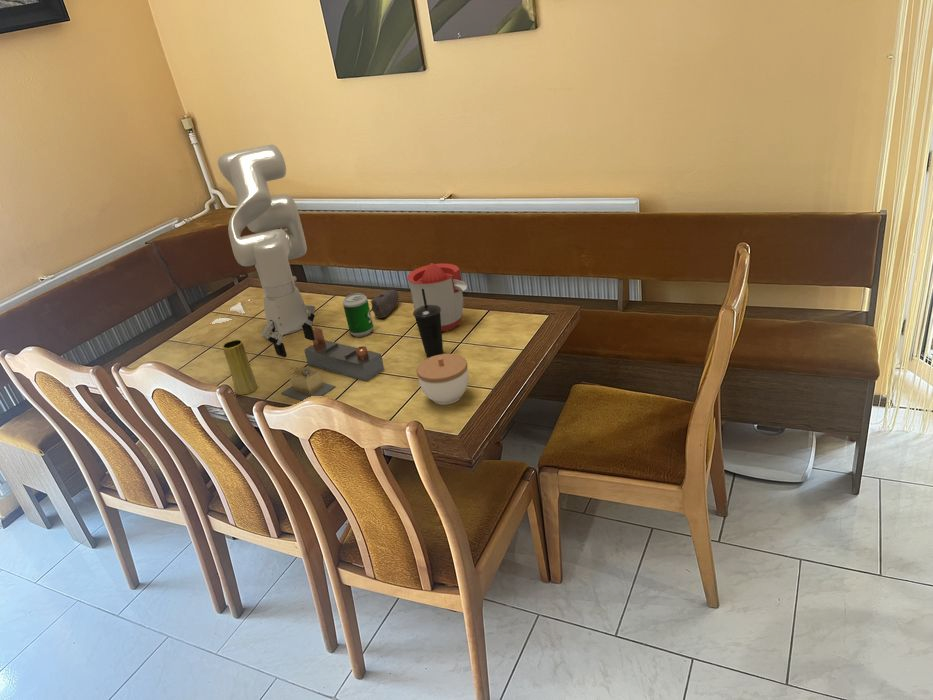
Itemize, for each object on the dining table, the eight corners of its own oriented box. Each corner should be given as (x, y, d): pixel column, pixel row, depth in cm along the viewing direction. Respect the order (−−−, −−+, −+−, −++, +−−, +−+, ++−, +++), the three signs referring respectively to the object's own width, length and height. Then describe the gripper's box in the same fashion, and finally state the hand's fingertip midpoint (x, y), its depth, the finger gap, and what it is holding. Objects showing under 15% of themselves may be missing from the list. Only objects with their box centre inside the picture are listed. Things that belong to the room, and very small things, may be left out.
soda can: (369, 337, 220) (361, 301, 214) (346, 338, 222) (338, 302, 216) (377, 326, 226) (369, 291, 221) (355, 327, 228) (346, 292, 223)
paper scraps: (217, 335, 240) (215, 329, 239) (191, 331, 247) (189, 325, 246) (273, 304, 259) (271, 298, 258) (247, 300, 266) (245, 294, 265)
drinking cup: (452, 348, 205) (440, 283, 196) (442, 361, 198) (430, 294, 190) (427, 348, 207) (415, 283, 199) (417, 360, 201) (404, 295, 192)
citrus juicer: (462, 337, 211) (452, 273, 202) (408, 335, 217) (396, 273, 208) (479, 314, 224) (470, 253, 215) (428, 313, 230) (417, 254, 221)
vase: (238, 386, 203) (223, 340, 197) (259, 382, 203) (245, 337, 197) (233, 396, 198) (218, 350, 191) (255, 393, 198) (241, 346, 191)
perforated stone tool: (392, 302, 243) (388, 282, 240) (406, 302, 241) (402, 283, 238) (369, 321, 231) (365, 301, 228) (383, 322, 229) (379, 302, 226)
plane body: (308, 365, 209) (299, 334, 204) (325, 354, 213) (317, 324, 209) (366, 381, 195) (359, 348, 190) (384, 369, 199) (377, 337, 195)
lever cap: (293, 390, 195) (288, 372, 192) (306, 382, 198) (301, 364, 195) (310, 396, 191) (305, 377, 188) (323, 387, 194) (318, 368, 192)
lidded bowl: (414, 408, 178) (406, 369, 173) (434, 383, 188) (427, 345, 183) (461, 412, 173) (454, 372, 168) (479, 386, 184) (473, 347, 179)
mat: (281, 394, 195) (281, 392, 195) (306, 378, 201) (305, 377, 201) (310, 403, 188) (310, 402, 188) (335, 387, 194) (335, 386, 194)
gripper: (296, 273, 189) (311, 330, 197) (243, 299, 178) (261, 359, 186) (315, 276, 185) (330, 335, 193) (262, 304, 173) (280, 365, 181)
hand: (296, 347), depth 189 cm, fingers open, 9 cm apart
